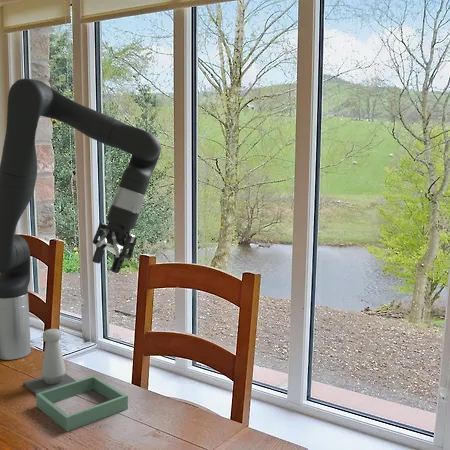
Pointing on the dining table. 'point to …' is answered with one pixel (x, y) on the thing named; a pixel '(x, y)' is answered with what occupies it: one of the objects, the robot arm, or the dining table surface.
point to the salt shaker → (53, 358)
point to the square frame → (87, 415)
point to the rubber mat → (40, 384)
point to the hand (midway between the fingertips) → (105, 267)
